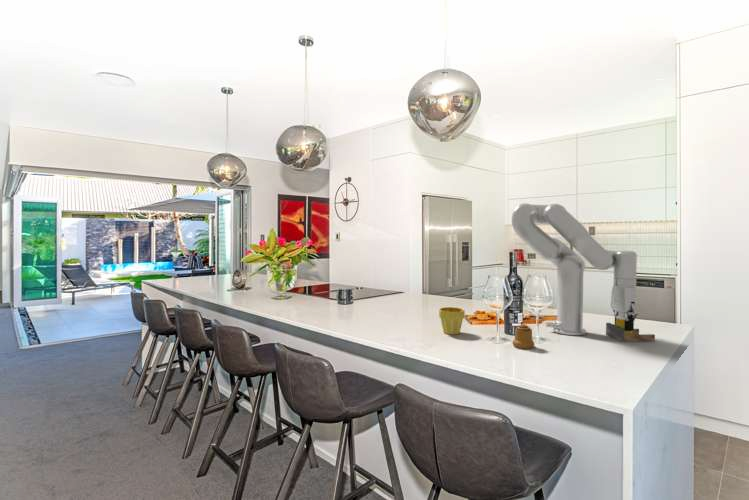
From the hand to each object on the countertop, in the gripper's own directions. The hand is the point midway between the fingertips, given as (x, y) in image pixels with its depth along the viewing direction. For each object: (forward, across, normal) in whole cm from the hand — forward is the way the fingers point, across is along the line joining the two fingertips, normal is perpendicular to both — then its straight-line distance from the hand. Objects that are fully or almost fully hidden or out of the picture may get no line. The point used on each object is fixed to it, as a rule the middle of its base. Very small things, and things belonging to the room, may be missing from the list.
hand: (623, 328), depth 161 cm
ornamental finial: (+4, +11, -44) cm, 45 cm away
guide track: (+4, 0, +3) cm, 5 cm away
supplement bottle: (+4, 0, 0) cm, 4 cm away
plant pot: (+4, -10, -65) cm, 66 cm away
